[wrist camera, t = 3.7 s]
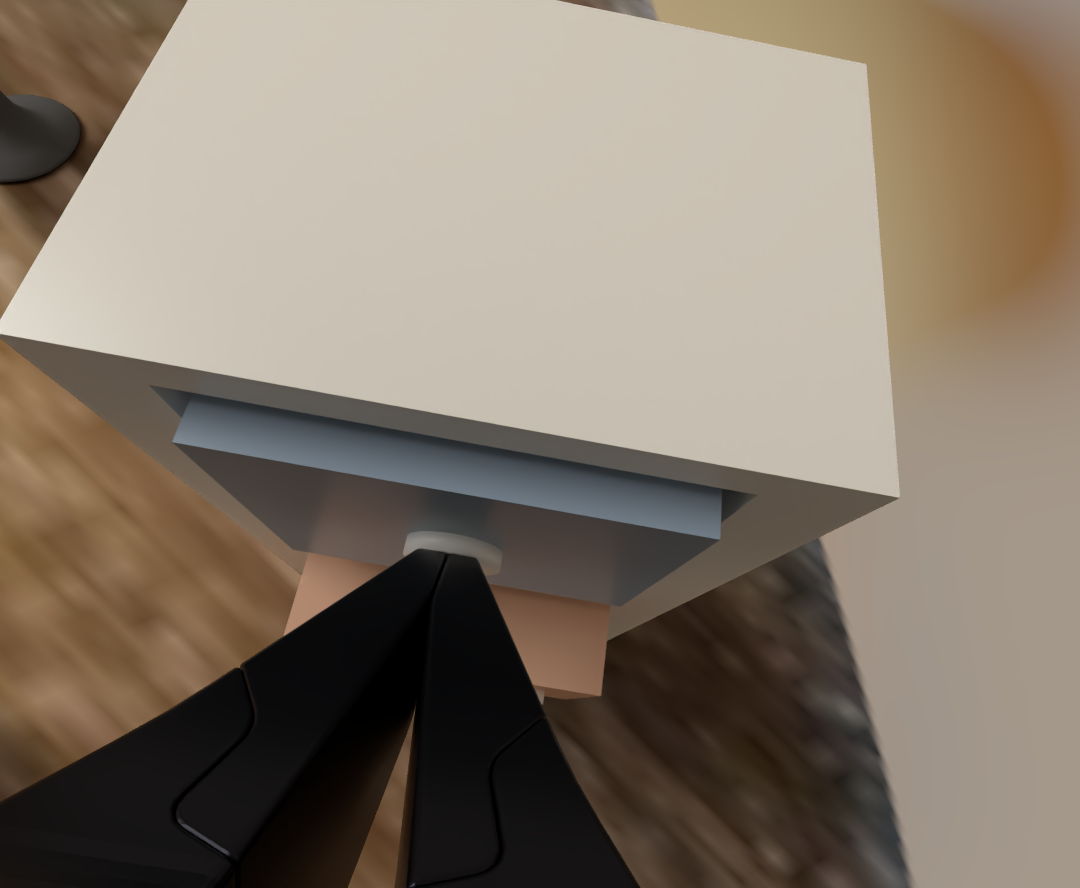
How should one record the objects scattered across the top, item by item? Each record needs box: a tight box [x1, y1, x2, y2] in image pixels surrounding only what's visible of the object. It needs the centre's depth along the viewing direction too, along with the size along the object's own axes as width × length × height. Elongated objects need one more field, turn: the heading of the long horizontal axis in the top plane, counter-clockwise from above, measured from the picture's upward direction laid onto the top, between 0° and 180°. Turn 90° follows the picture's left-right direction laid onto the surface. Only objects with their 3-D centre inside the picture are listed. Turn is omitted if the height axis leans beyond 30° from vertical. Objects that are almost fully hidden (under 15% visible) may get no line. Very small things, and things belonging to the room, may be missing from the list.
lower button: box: [284, 553, 611, 704], centre depth 14 cm, size 3×6×5 cm, turn 81°
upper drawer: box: [172, 393, 722, 607], centre depth 10 cm, size 3×6×5 cm, turn 81°
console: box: [0, 0, 900, 641], centre depth 15 cm, size 6×9×16 cm
